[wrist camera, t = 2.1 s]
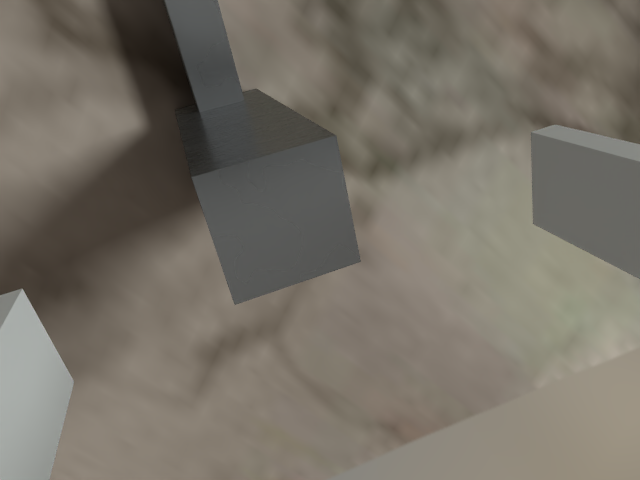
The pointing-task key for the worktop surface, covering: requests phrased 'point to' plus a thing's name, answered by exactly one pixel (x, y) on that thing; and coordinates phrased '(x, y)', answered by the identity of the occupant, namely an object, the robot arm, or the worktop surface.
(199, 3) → the hook tool
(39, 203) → the worktop surface
